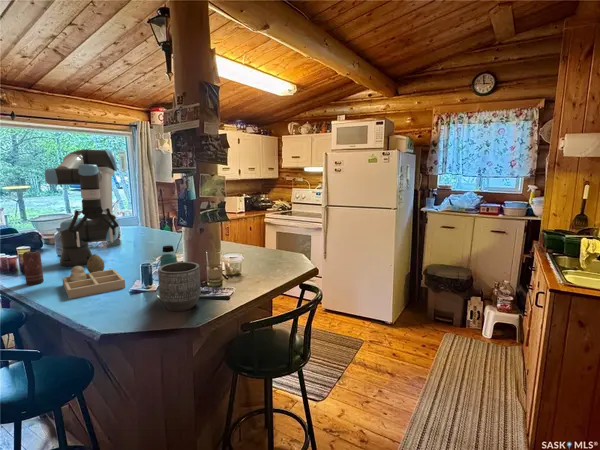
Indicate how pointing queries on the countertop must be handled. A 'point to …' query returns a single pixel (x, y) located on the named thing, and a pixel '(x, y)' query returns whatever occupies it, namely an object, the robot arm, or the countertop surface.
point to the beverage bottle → (168, 256)
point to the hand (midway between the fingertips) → (95, 244)
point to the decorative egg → (95, 264)
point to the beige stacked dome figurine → (77, 274)
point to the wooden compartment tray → (93, 283)
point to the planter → (179, 285)
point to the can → (33, 267)
